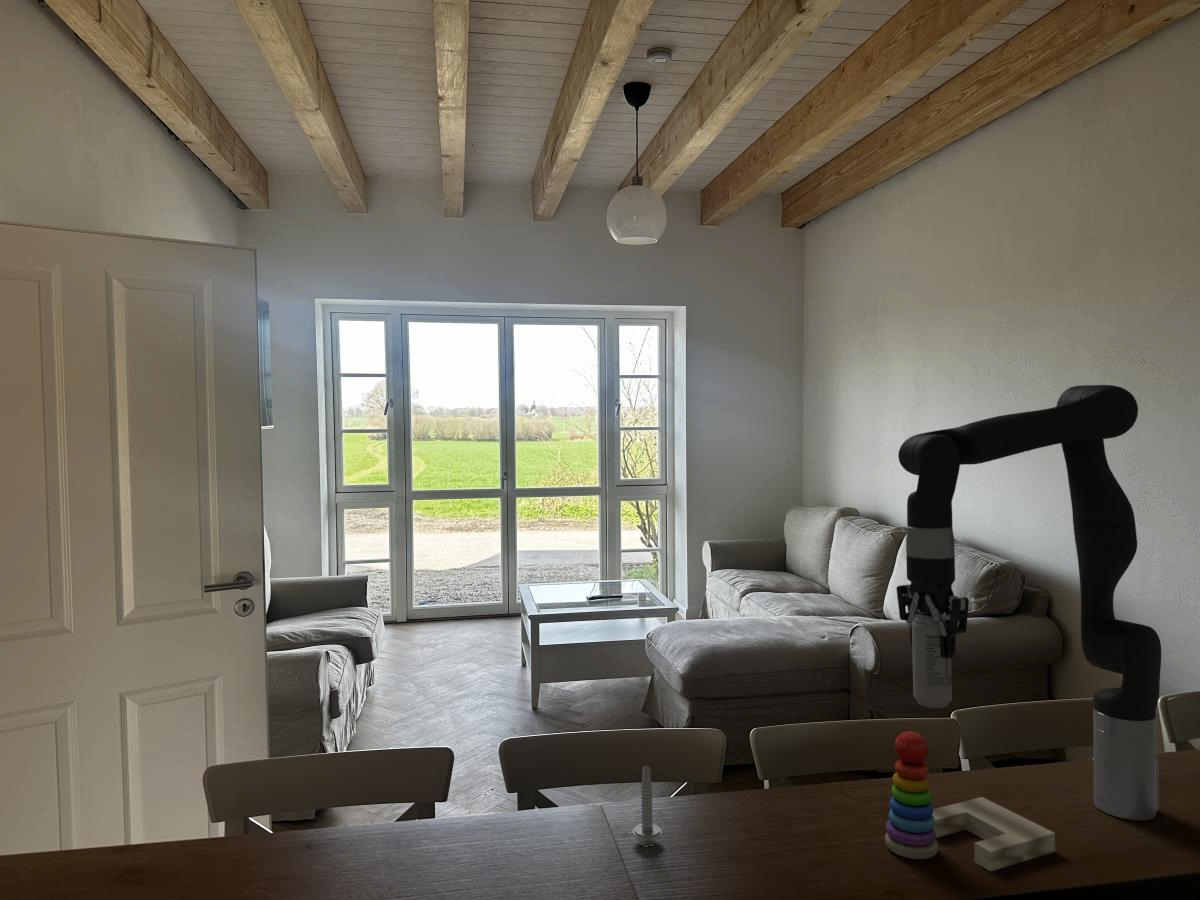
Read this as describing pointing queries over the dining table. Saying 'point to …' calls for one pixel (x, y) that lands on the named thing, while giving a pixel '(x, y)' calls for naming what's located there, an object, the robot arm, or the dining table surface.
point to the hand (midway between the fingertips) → (932, 652)
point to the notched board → (995, 832)
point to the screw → (646, 813)
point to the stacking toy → (911, 801)
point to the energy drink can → (930, 664)
